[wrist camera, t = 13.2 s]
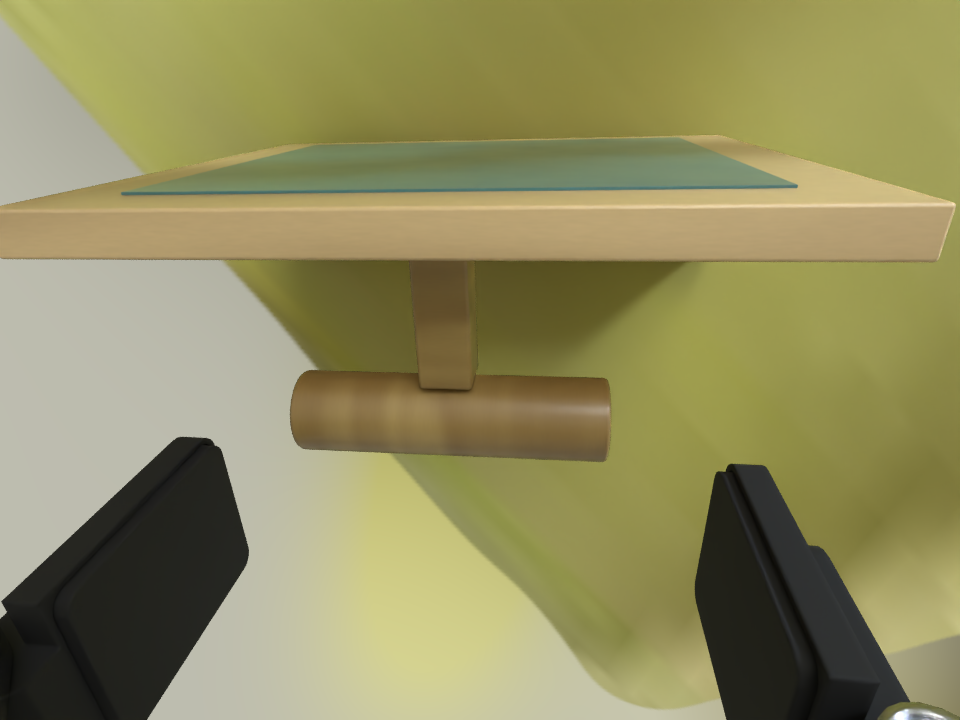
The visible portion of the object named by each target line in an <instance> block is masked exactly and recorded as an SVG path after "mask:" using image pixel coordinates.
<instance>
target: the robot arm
mask: <svg viewBox="0 0 960 720" xmlns="http://www.w3.org/2000/svg"><path fill="white" fill-rule="evenodd" d="M248 556H249V549H248V544H247V541H246V537H245V534H244V530H243V526H242V523H241V519H240V515H239V512H238V508H237V505H236V501H235V497H234V494H233V490H232V486H231V483H230V479H229V476H228V472H227V468H226V465H225V461H224V457H223V454H222V451H221V449H220V448H219V447H217V446H215V445H214V443H213V442H212V440H211V439H208V438H195V437H193V438H192V437H178V438H176V439H175V440H173V441H172V442H171V443H170V444H169V445H168V446H167V447H166V448H165V449H164V450H163V451H161V453H159V454H158V455H157V456H156V457H155V458H154V459H153V460H152V461H151V462H150V463H149V464H148V465H147V466H145V467H144V468H143V469H142V470H141V471H140V472H139V473H138V474H137V475H136V476H135V477H134V478H133V479H132V480H131V481H129V482H128V483H127V484H126V485H125V486H124V487H123V488H122V489H121V490H120V491H119V492H118V493H117V494H116V495H114V497H113V498H111V499H110V500H109V501H108V502H107V503H106V504H105V505H104V506H103V507H102V508H101V509H100V510H99V511H97V512H96V513H95V514H94V515H93V516H92V517H91V518H90V519H89V520H88V521H87V522H86V523H85V524H84V525H82V526H81V527H80V528H79V529H78V530H77V531H76V532H75V533H74V534H73V535H72V536H71V537H70V538H69V539H68V540H67V541H66V542H64V543H63V544H62V545H61V546H60V547H59V548H58V549H57V550H56V551H55V552H54V553H53V554H52V555H50V556H49V557H48V558H47V559H46V560H45V561H44V562H43V563H42V564H41V565H40V566H39V567H38V568H37V569H35V571H33V573H31V574H30V575H29V576H28V577H27V578H26V579H25V580H24V581H23V582H22V583H21V584H20V585H18V586H17V587H16V588H15V589H14V590H13V591H12V592H11V593H10V594H9V595H8V596H7V597H6V598H5V599H3V600H2V601H1V602H2V604H3V606H4V607H5V609H6V611H7V613H6V614H5V615H4V616H3V617H2V618H1V619H0V720H147V719H148V717H149V715H150V714H151V712H152V711H153V709H154V708H155V706H156V705H157V703H158V702H159V700H160V699H161V697H162V695H163V694H164V692H165V691H166V689H167V688H168V686H169V685H170V683H171V681H172V680H173V678H174V676H175V675H176V673H177V672H178V671H179V669H180V667H181V666H182V664H183V663H184V661H185V660H186V658H187V657H188V655H189V653H190V652H191V650H192V649H193V647H194V646H195V644H196V642H197V641H198V640H199V638H200V636H201V635H202V633H203V632H204V630H205V629H206V627H207V625H208V624H209V622H210V621H211V619H212V618H213V616H214V615H215V613H216V611H217V610H218V608H219V607H220V605H221V604H222V602H223V601H224V599H225V598H226V596H227V595H228V593H229V591H230V590H231V588H232V587H233V585H234V584H235V582H236V581H237V579H238V577H239V576H240V574H241V573H242V571H243V570H244V568H245V566H246V564H247V561H248ZM695 598H696V604H697V608H698V611H699V615H700V619H701V623H702V627H703V631H704V635H705V639H706V642H707V646H708V650H709V654H710V658H711V662H712V666H713V669H714V673H715V677H716V681H717V685H718V689H719V693H720V696H721V700H722V704H723V708H724V712H725V716H726V719H727V720H960V717H959V716H957V715H954V714H952V713H950V712H948V711H946V710H944V709H942V708H939V707H935V706H931V705H928V704H923V703H920V702H910V701H909V699H908V697H907V695H906V693H905V692H904V690H903V688H902V686H901V684H900V683H899V681H898V679H897V677H896V676H895V674H894V672H893V670H892V669H891V667H890V665H889V663H888V662H887V660H886V658H885V656H884V654H883V652H882V651H881V649H880V647H879V645H878V643H877V642H876V640H875V638H874V636H873V635H872V633H871V631H870V629H869V627H868V626H867V624H866V622H865V620H864V619H863V617H862V615H861V613H860V611H859V610H858V608H857V606H856V604H855V602H854V601H853V599H852V597H851V595H850V594H849V592H848V590H847V588H846V586H845V585H844V583H843V581H842V579H841V578H840V576H839V574H838V572H837V570H836V569H835V567H834V565H833V563H832V561H831V560H830V558H829V556H828V555H827V554H826V552H825V551H824V550H823V549H822V548H820V547H819V546H810V545H808V544H807V542H806V541H805V539H804V537H803V535H802V533H801V531H800V529H799V527H798V526H797V524H796V522H795V520H794V518H793V516H792V514H791V512H790V510H789V509H788V507H787V505H786V503H785V501H784V499H783V497H782V495H781V493H780V492H779V490H778V488H777V486H776V484H775V482H774V480H773V478H772V476H771V475H770V473H769V471H768V469H767V468H766V467H765V466H763V465H746V464H729V465H728V467H727V469H726V472H720V471H718V472H717V473H716V475H715V478H714V483H713V489H712V494H711V499H710V505H709V510H708V516H707V521H706V526H705V532H704V537H703V542H702V548H701V553H700V558H699V564H698V569H697V574H696V580H695Z"/></svg>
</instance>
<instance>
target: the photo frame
mask: <svg viewBox="0 0 960 720" xmlns="http://www.w3.org/2000/svg"><path fill="white" fill-rule="evenodd" d="M955 208H956V206H955V203H953V202H951V201H947V200H944V199H940V198H937V197H933V196H930V195H926V194H923V193H919V192H916V191H912V190H909V189H905V188H902V187H898V186H895V185H892V184H888V183H885V182H881V181H878V180H874V179H871V178H867V177H864V176H860V175H857V174H853V173H850V172H846V171H843V170H839V169H836V168H832V167H829V166H825V165H822V164H819V163H815V162H812V161H808V160H805V159H801V158H798V157H794V156H791V155H787V154H784V153H780V152H777V151H773V150H770V149H766V148H763V147H759V146H756V145H752V144H749V143H746V142H742V141H739V140H735V139H732V138H728V137H725V136H721V135H694V136H646V137H598V138H551V139H503V140H456V141H408V142H360V143H313V144H286V145H281V146H277V147H272V148H267V149H263V150H258V151H253V152H249V153H244V154H239V155H235V156H230V157H225V158H221V159H216V160H211V161H207V162H202V163H198V164H193V165H188V166H184V167H179V168H174V169H170V170H165V171H160V172H156V173H151V174H146V175H142V176H137V177H132V178H128V179H123V180H119V181H114V182H109V183H105V184H100V185H95V186H91V187H87V188H81V189H77V190H72V191H68V192H63V193H58V194H53V195H49V196H44V197H40V198H35V199H30V200H26V201H21V202H16V203H12V204H7V205H2V206H0V258H2V259H122V260H126V259H128V260H131V259H132V260H133V259H134V260H137V259H138V260H153V259H154V260H399V261H409V269H410V281H411V293H412V305H413V317H414V329H415V341H416V353H417V365H418V373H401V372H364V371H327V370H309V371H306V372H304V373H303V374H302V375H301V376H300V377H299V379H298V380H297V382H296V385H295V387H294V390H293V394H292V399H291V407H290V423H291V430H292V434H293V437H294V440H295V442H296V443H297V445H298V446H300V447H301V448H303V449H312V450H335V451H359V452H381V453H404V454H427V455H450V456H473V457H496V458H519V459H542V460H565V461H588V462H604V461H606V460H607V457H608V454H609V448H610V438H611V395H610V387H609V383H608V380H607V379H605V378H588V377H551V376H513V375H476V372H477V368H478V344H477V314H476V283H475V261H676V262H936V261H938V259H939V257H940V254H941V251H942V248H943V245H944V242H945V239H946V236H947V233H948V230H949V226H950V223H951V220H952V217H953V214H954V211H955Z"/></svg>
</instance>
